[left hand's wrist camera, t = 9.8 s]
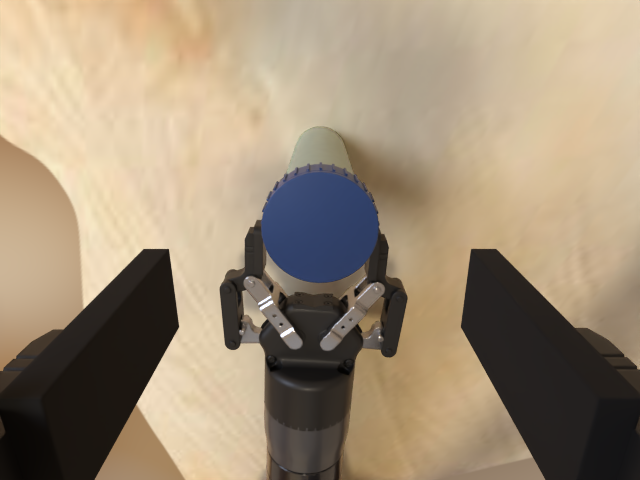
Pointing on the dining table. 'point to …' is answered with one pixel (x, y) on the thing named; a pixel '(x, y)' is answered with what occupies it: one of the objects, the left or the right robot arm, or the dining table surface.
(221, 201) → the dining table surface
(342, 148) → the pale green cylinder
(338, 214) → the lid
